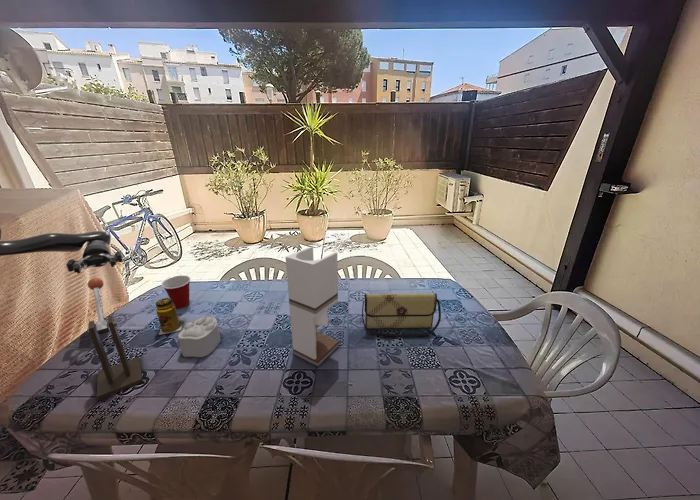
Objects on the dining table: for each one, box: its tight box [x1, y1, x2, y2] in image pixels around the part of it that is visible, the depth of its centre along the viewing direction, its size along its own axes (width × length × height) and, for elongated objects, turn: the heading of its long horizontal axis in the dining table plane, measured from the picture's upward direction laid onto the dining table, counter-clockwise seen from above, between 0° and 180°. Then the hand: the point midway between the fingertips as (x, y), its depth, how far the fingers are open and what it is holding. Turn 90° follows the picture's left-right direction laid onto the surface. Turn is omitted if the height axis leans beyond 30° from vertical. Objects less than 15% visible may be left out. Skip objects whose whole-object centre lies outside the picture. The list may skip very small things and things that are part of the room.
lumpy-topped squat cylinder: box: [177, 316, 221, 358], centre depth 94 cm, size 10×13×9 cm
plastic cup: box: [160, 275, 191, 309], centre depth 118 cm, size 11×11×12 cm
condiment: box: [155, 297, 185, 336], centre depth 103 cm, size 7×8×12 cm
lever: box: [87, 277, 111, 336], centre depth 79 cm, size 19×4×4 cm, turn 39°
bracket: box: [86, 315, 144, 401], centre depth 78 cm, size 12×10×20 cm
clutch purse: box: [360, 293, 442, 338], centre depth 101 cm, size 30×7×15 cm, turn 92°
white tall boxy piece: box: [285, 246, 339, 367], centre depth 87 cm, size 11×11×35 cm
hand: (95, 267), depth 90 cm, fingers open, 8 cm apart
